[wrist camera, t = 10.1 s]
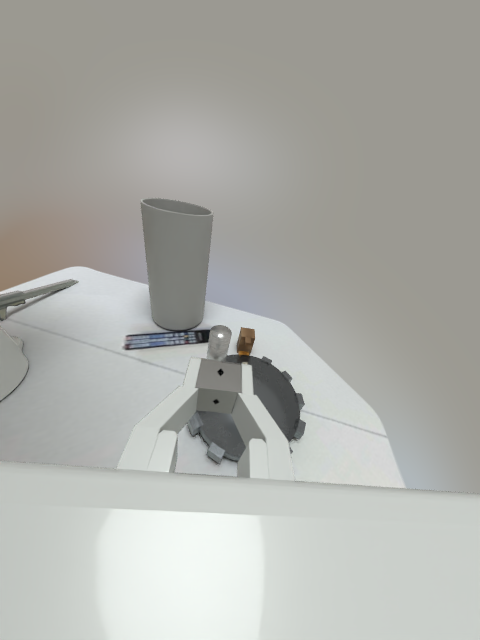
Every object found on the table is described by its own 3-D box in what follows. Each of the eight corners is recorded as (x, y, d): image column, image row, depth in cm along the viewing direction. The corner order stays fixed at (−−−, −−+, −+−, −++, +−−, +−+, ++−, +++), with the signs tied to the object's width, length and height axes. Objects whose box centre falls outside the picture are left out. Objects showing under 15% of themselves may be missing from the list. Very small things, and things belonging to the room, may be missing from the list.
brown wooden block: (236, 358, 42) (241, 341, 39) (237, 343, 46) (241, 327, 43) (250, 360, 42) (255, 344, 39) (249, 345, 46) (254, 329, 43)
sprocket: (160, 395, 31) (155, 337, 24) (241, 343, 45) (254, 296, 37) (252, 514, 22) (291, 483, 15) (319, 405, 35) (357, 359, 28)
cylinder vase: (167, 298, 55) (163, 196, 40) (209, 309, 55) (220, 211, 40) (141, 323, 45) (123, 200, 30) (192, 337, 45) (200, 219, 30)
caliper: (-7, 327, 37) (-28, 299, 33) (-13, 326, 37) (-34, 298, 33) (79, 282, 53) (72, 261, 50) (75, 282, 53) (68, 260, 50)
